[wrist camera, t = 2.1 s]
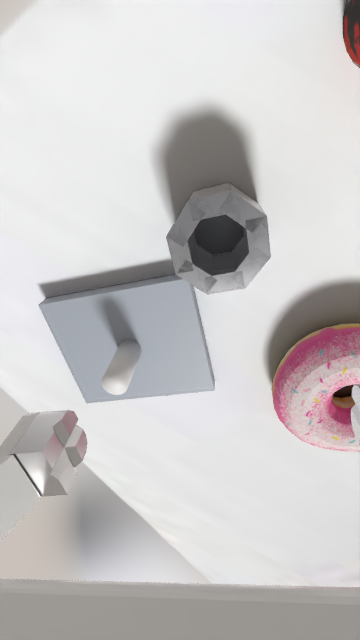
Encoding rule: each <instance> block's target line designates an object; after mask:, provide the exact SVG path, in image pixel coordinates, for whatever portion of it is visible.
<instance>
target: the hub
mask: <svg viewBox="0 0 360 640" xmlns="http://www.w3.org/2000/svg"><path fill="white" fill-rule="evenodd" d="M225 214H226V215H227V216H229V217H230V218H231V219H233V220H234V221H236V222H237V223H239V224H240V225H242V226H243V229H244V235H243V237H242V238H241V240H240V241H239V242H238V244H237V245H236V246H235V248H234V249H233V250H232V251H229V252H224V253H218V254H212V253H210V252H209V251H207V250H206V249H204V248H202V247H201V246H199V245H198V244H197V241H196V236H195V231H194V230H195V228H196V226H197V225H198V223H199V222H200V220H203V219H207V218H212V217H216V216H221V215H225ZM166 238H167V242H168V246H169V250H170V254H171V258H172V262H173V266H174V270H175V274H176V275H177V276H179V277H180V278H182V279H184V280H185V281H187V282H188V283H190V284H191V285H193V286H195V287H196V288H198V289H199V290H201V291H203V292H204V293H206V294H214V293H220V292H226V291H232V290H238V289H244V288H246V287H247V286H248V284H249V283H250V282H251V281H252V279H253V278H254V277H255V276H256V275H257V273H258V272H259V271H260V270H261V268H262V267H263V266H264V265H265V264H266V262H267V261H268V260H269V259H270V257H271V254H270V244H269V234H268V224H267V216H266V214H265V213H264V211H263V210H262V208H261V207H260V206H259V204H258V203H257V202H256V201H254V200H253V199H251V198H250V197H249V196H247V195H246V194H244V193H243V192H242V191H240V190H239V189H237V188H236V187H235V186H233V185H232V184H230V183H225V184H221V185H217V186H213V187H208V188H204V189H200V190H196V191H194V192H193V193H192V195H191V196H190V198H189V199H188V201H187V203H186V204H185V206H184V208H183V209H182V211H181V213H180V214H179V216H178V218H177V219H176V221H175V223H174V224H173V226H172V228H171V229H170V231H169V233H168V234H167V236H166Z"/></svg>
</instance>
